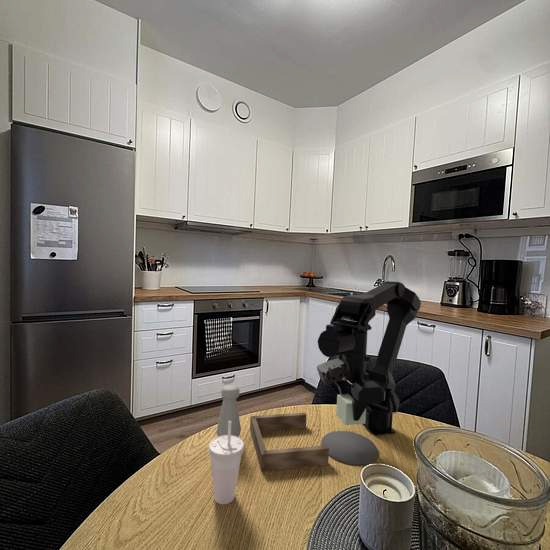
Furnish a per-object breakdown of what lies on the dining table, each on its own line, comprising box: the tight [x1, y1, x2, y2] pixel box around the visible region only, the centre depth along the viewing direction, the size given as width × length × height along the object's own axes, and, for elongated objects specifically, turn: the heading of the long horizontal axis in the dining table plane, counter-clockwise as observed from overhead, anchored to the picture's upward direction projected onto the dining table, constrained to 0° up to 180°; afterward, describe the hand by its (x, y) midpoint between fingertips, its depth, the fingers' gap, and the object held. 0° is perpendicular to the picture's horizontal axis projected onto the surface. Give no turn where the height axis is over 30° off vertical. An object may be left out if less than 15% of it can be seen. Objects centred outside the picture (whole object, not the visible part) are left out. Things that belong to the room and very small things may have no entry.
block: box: [336, 393, 366, 426], centre depth 73 cm, size 5×5×5 cm
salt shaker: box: [215, 384, 242, 438], centre depth 74 cm, size 6×6×13 cm
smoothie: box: [207, 421, 245, 505], centre depth 56 cm, size 6×6×14 cm
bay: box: [249, 412, 330, 472], centre depth 73 cm, size 15×16×4 cm
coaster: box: [320, 430, 379, 466], centre depth 73 cm, size 13×13×1 cm
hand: (350, 414), depth 73 cm, fingers closed on block, 5 cm apart
